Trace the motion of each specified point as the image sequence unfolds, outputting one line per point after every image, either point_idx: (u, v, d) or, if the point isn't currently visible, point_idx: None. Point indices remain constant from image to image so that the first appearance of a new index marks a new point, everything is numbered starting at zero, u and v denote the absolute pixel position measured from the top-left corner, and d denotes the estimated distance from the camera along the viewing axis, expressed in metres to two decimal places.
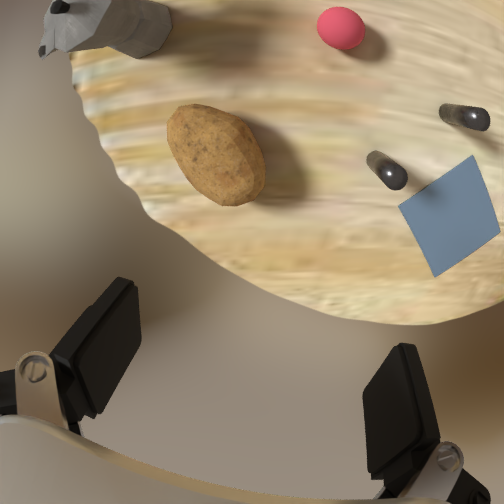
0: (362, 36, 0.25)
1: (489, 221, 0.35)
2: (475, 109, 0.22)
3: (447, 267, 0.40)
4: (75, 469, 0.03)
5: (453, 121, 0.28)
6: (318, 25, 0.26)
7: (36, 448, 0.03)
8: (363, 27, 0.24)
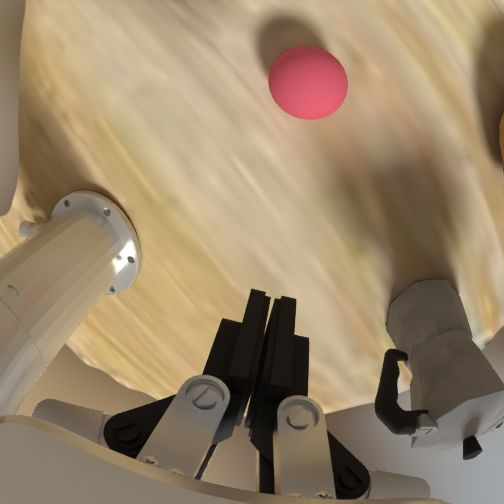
0: (299, 47, 0.16)
1: None
2: None
3: None
4: (75, 469, 0.03)
5: None
6: (334, 110, 0.18)
7: (36, 447, 0.03)
8: (285, 55, 0.17)
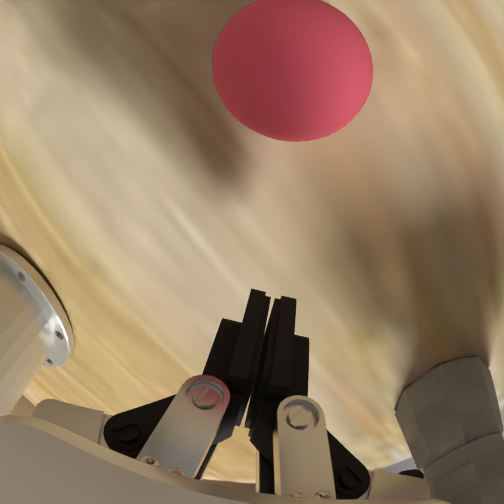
0: None
1: None
2: None
3: None
4: (75, 469, 0.03)
5: None
6: (346, 123, 0.09)
7: (36, 448, 0.03)
8: (242, 11, 0.07)
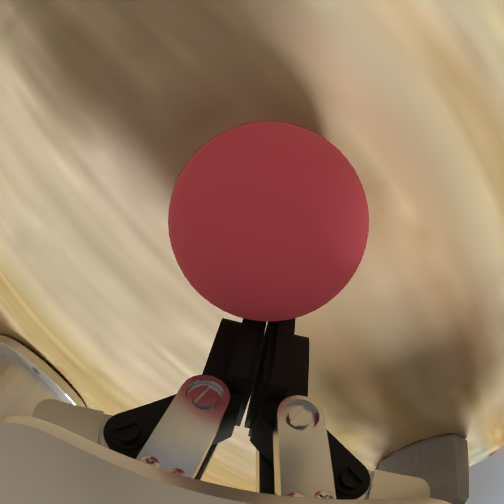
0: None
1: None
2: None
3: None
4: (75, 469, 0.03)
5: None
6: (339, 290, 0.07)
7: (36, 447, 0.03)
8: (209, 141, 0.07)
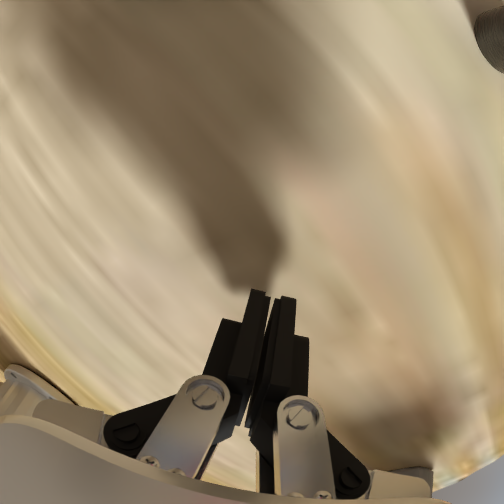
0: None
1: None
2: None
3: None
4: (75, 469, 0.03)
5: None
6: None
7: (36, 447, 0.03)
8: None
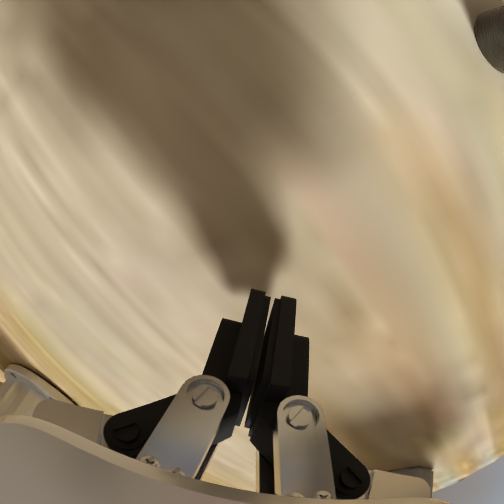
0: None
1: None
2: None
3: None
4: (75, 469, 0.03)
5: None
6: None
7: (36, 447, 0.03)
8: None
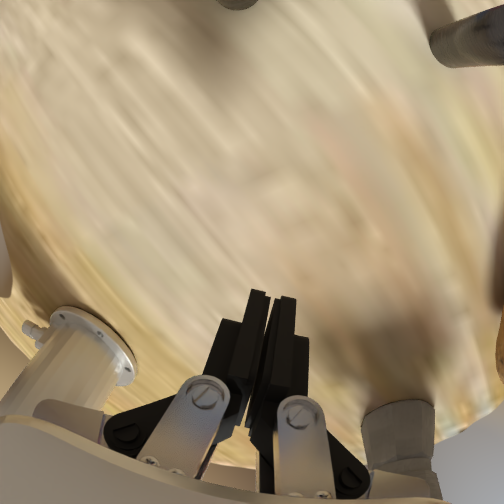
0: None
1: None
2: None
3: None
4: (75, 469, 0.03)
5: None
6: None
7: (36, 448, 0.03)
8: None
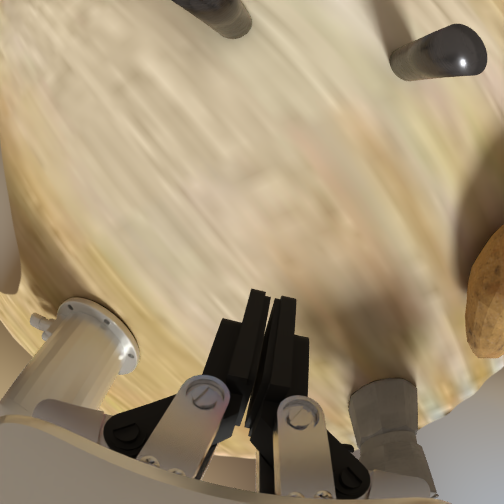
0: None
1: None
2: (189, 4, 0.10)
3: None
4: (75, 469, 0.03)
5: (242, 8, 0.14)
6: None
7: (36, 447, 0.03)
8: None
